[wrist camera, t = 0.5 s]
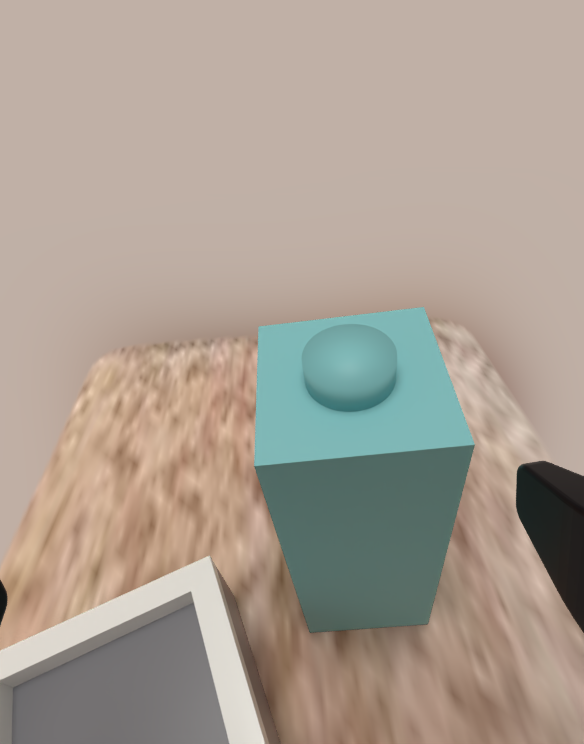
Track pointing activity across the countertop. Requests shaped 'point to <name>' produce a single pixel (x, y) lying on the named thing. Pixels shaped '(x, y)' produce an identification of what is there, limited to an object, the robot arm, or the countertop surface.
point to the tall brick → (360, 464)
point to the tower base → (140, 671)
